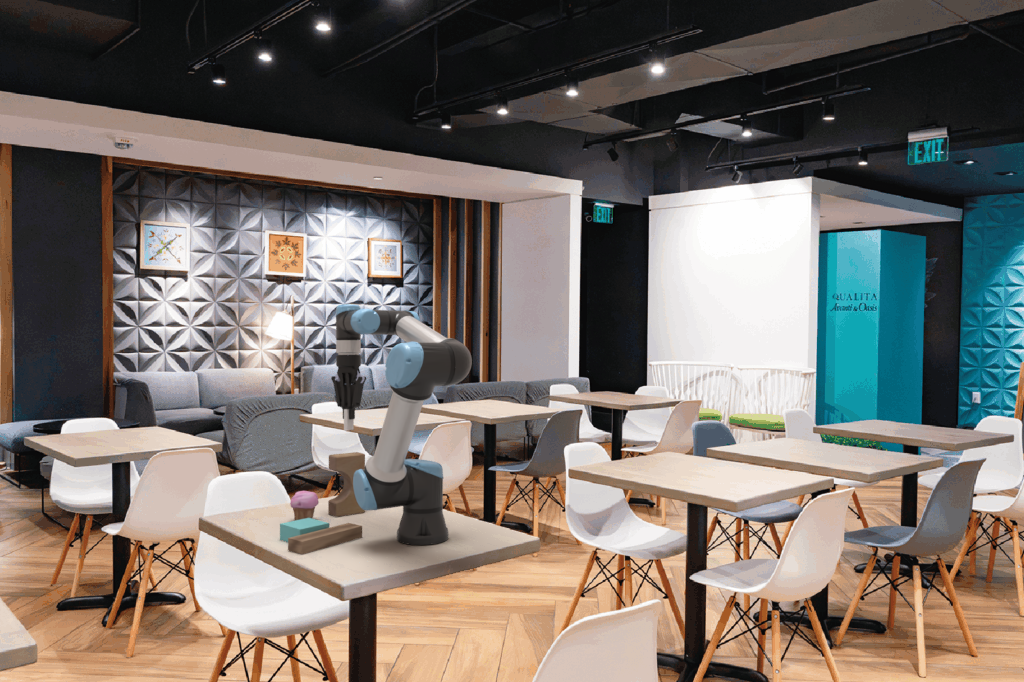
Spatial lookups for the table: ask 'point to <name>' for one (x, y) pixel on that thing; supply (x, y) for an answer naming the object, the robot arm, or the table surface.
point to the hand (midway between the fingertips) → (348, 429)
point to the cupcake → (304, 504)
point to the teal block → (300, 527)
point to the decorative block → (346, 483)
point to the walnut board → (324, 538)
